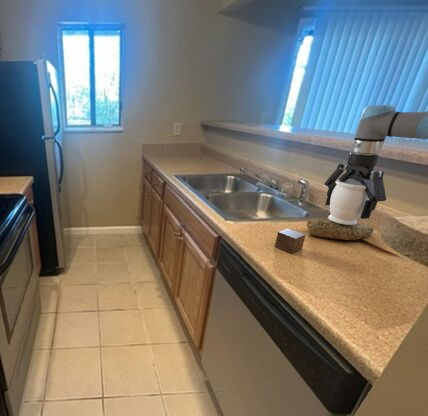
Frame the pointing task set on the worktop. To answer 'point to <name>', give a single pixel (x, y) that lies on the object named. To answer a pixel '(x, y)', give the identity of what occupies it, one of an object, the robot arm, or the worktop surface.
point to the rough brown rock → (338, 230)
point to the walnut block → (290, 241)
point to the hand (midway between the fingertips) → (345, 211)
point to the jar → (347, 202)
